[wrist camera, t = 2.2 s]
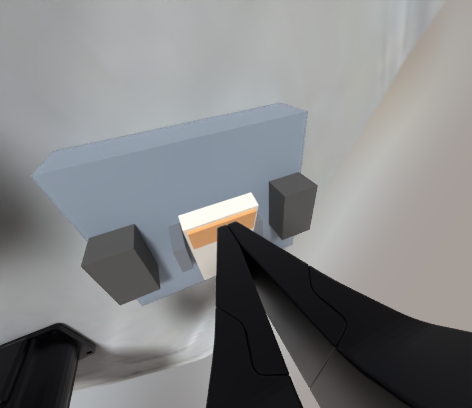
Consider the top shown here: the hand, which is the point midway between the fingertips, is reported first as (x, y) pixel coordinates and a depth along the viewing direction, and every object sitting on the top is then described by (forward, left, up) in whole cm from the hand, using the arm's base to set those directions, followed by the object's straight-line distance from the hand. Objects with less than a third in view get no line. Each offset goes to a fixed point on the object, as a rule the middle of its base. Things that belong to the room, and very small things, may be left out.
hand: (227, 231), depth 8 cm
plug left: (-3, +6, -4) cm, 8 cm away
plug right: (-3, -6, -4) cm, 8 cm away
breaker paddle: (-3, 0, -2) cm, 4 cm away
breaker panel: (-3, 0, -8) cm, 8 cm away
